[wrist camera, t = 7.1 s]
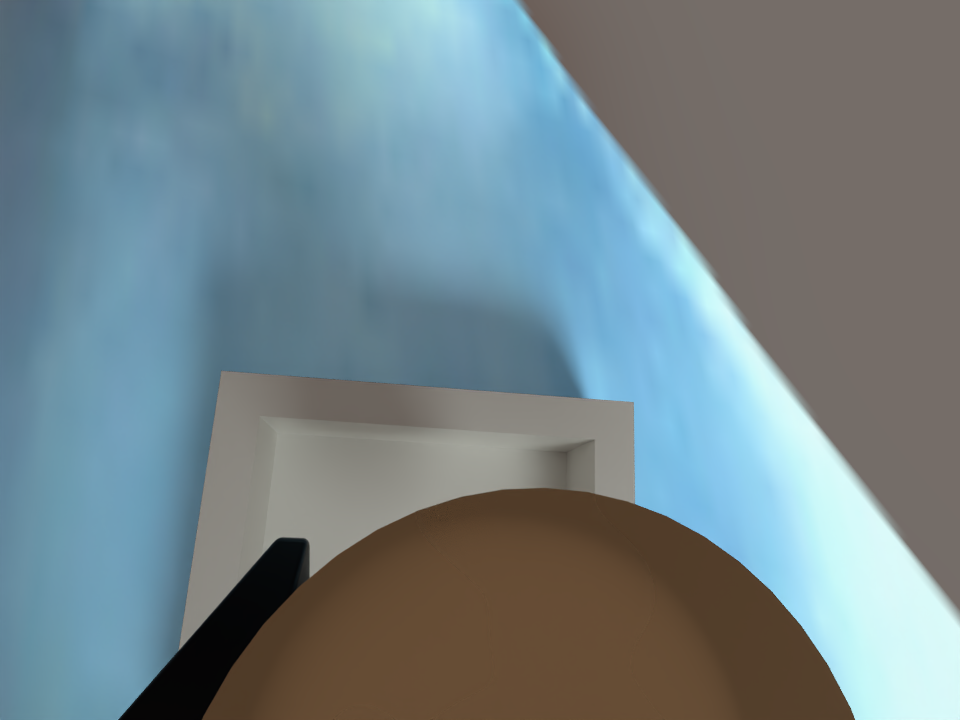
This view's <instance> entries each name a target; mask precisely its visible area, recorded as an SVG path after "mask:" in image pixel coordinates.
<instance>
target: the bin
mask: <svg viewBox="0 0 960 720" xmlns="http://www.w3.org/2000/svg"><path fill="white" fill-rule="evenodd" d="M526 488H553V489H563V490H573V491H584V492H590V493H594V494H598V495H603V496H607V497H611V498H615V499H619V500H624V501H628V502H630V503H633V504H635V473H634V402H624V401H610V400H597V399H584V398H571V397H558V396H545V395H532V394H519V393H506V392H492V391H479V390H466V389H453V388H440V387H427V386H414V385H401V384H388V383H374V382H361V381H348V380H335V379H322V378H309V377H296V376H283V375H270V374H257V373H243V372H230V371H221V377H220V384H219V390H218V397H217V403H216V410H215V416H214V423H213V429H212V436H211V442H210V449H209V455H208V462H207V468H206V475H205V481H204V488H203V494H202V501H201V507H200V514H199V520H198V527H197V533H196V540H195V547H194V553H193V560H192V566H191V573H190V579H189V586H188V592H187V599H186V605H185V612H184V618H183V625H182V631H181V638H180V644H179V650H180V649H181V647H182V646H183V645H184V644H185V643H186V642H187V641H188V639H189V638H190V637H191V636H192V635H193V634H194V633H195V631H196V630H197V629H198V628H199V627H200V626H201V625H202V623H203V622H204V621H205V620H206V619H207V618H208V617H209V615H210V614H211V613H212V612H213V611H214V610H215V609H216V607H217V606H218V605H219V604H220V603H221V602H222V601H223V599H224V598H225V597H226V596H227V595H228V594H229V593H230V591H231V590H232V589H233V588H234V587H235V586H236V584H237V583H238V582H239V581H240V580H241V579H242V578H243V576H244V575H245V574H246V573H247V572H248V571H249V570H250V568H251V567H252V566H253V565H254V564H255V563H256V562H257V560H258V559H259V558H260V557H261V556H262V555H263V554H264V552H265V551H266V550H267V549H268V548H269V547H270V546H271V544H272V543H273V542H274V541H275V540H276V539H278V538H280V537H291V538H305V539H307V540H308V541H309V544H310V577H311V576H313V575H314V574H315V573H316V572H317V571H319V570H320V569H321V568H322V567H323V566H325V565H326V564H327V563H328V562H329V561H331V560H332V559H333V558H334V557H335V556H337V555H338V554H340V553H341V552H343V551H344V550H346V549H348V548H349V547H351V546H352V545H354V544H355V543H357V542H359V541H360V540H362V539H363V538H365V537H366V536H368V535H370V534H371V533H373V532H374V531H376V530H377V529H380V528H382V527H384V526H386V525H388V524H390V523H392V522H395V521H397V520H399V519H401V518H403V517H405V516H407V515H409V514H412V513H414V512H416V511H418V510H421V509H424V508H427V507H430V506H433V505H437V504H440V503H443V502H446V501H449V500H452V499H455V498H459V497H463V496H468V495H474V494H480V493H485V492H491V491H497V490H502V489H526Z"/></svg>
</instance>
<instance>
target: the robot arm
mask: <svg viewBox="0 0 960 720" xmlns="http://www.w3.org/2000/svg"><path fill="white" fill-rule="evenodd" d="M309 578H310V544H309V541H308V540H307V539H305V538H291V537H280V538H278V539H276V540H275V541H274V542H273V543H272V544H271V546H270V547H269V548H268V549H267V550H266V551H265V552H264V554H263V555H262V556H261V557H260V558H259V559H258V560H257V562H256V563H255V564H254V565H253V566H252V567H251V568H250V570H249V571H248V572H247V573H246V574H245V575H244V576H243V578H242V579H241V580H240V581H239V582H238V583H237V584H236V586H235V587H234V588H233V589H232V590H231V591H230V593H229V594H228V595H227V596H226V597H225V598H224V599H223V601H222V602H221V603H220V604H219V605H218V606H217V607H216V609H215V610H214V611H213V612H212V613H211V614H210V615H209V617H208V618H207V619H206V620H205V621H204V622H203V623H202V625H201V626H200V627H199V628H198V629H197V630H196V631H195V633H194V634H193V635H192V636H191V637H190V638H189V639H188V641H187V642H186V643H185V644H184V645H183V646H182V647H181V649H180V650H179V651H178V652H177V653H176V654H175V655H174V657H173V658H172V659H171V660H170V661H169V662H168V663H167V665H166V666H165V667H164V668H163V669H162V670H161V671H160V673H159V674H158V675H157V676H156V677H155V678H154V679H153V681H152V682H151V683H150V684H149V685H148V686H147V687H146V689H145V690H144V691H143V692H142V693H141V694H140V695H139V697H138V698H137V699H136V700H135V701H134V702H133V703H132V705H131V706H130V707H129V708H128V709H127V710H126V711H125V713H124V714H123V715H122V716H121V717H120V718H119V719H118V720H202V719H203V716H204V714H205V713H206V711H207V709H208V708H209V706H210V704H211V702H212V701H213V699H214V697H215V695H216V694H217V692H218V690H219V688H220V687H221V685H222V683H223V682H224V680H225V678H226V676H227V675H228V673H229V671H230V669H231V668H232V666H233V665H234V663H235V662H236V661H237V659H238V658H239V657H240V655H241V654H242V653H243V651H244V650H245V649H246V647H247V646H248V645H249V643H250V642H251V641H252V639H253V638H254V637H255V635H256V634H257V633H258V631H259V630H260V628H261V627H262V626H263V624H264V623H265V622H266V621H267V620H268V619H269V618H270V617H271V616H272V615H273V614H274V613H275V612H276V611H277V610H278V608H279V607H280V606H281V605H282V604H283V603H284V602H285V601H286V600H287V599H288V598H289V597H290V596H291V595H292V594H293V593H294V592H295V590H296V589H297V588H298V587H299V586H301V585H302V584H303V583H304V582H305V581H307V580H308V579H309Z"/></svg>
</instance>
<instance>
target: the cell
mask: <svg viewBox="0 0 960 720" xmlns="http://www.w3.org/2000/svg"><path fill="white" fill-rule="evenodd" d="M202 720H855V718H854V716H853V713H852V711H851V708H850V706H849V704H848V702H847V700H846V698H845V697H844V695H843V693H842V691H841V689H840V687H839V685H838V683H837V681H836V680H835V678H834V676H833V674H832V672H831V670H830V668H829V666H828V665H827V663H826V662H825V660H824V659H823V657H822V656H821V654H820V653H819V651H818V650H817V648H816V647H815V645H814V644H813V642H812V641H811V639H810V638H809V637H808V635H807V634H806V632H805V631H804V629H803V628H802V626H801V625H800V624H799V623H798V621H797V620H796V619H795V618H794V617H793V616H792V615H791V613H790V612H789V611H788V610H787V609H786V608H785V606H784V605H783V604H782V603H781V602H780V601H779V599H778V598H777V597H776V596H775V595H774V594H773V592H772V591H771V590H770V589H768V588H767V587H766V586H765V585H764V584H763V583H762V582H761V581H760V580H759V579H758V578H756V577H755V576H754V575H753V574H752V573H751V572H750V571H749V570H748V569H747V568H746V567H744V566H743V565H742V564H741V563H740V562H739V561H738V560H736V559H735V558H733V557H732V556H731V555H729V554H728V553H726V552H725V551H724V550H722V549H721V548H719V547H718V546H717V545H715V544H714V543H712V542H711V541H710V540H708V539H707V538H705V537H704V536H702V535H700V534H698V533H697V532H695V531H693V530H691V529H689V528H687V527H685V526H684V525H682V524H680V523H678V522H676V521H674V520H672V519H671V518H669V517H667V516H664V515H662V514H659V513H657V512H654V511H651V510H649V509H646V508H643V507H641V506H638V505H636V504H633V503H630V502H628V501H624V500H619V499H615V498H611V497H607V496H603V495H598V494H594V493H590V492H584V491H573V490H563V489H553V488H526V489H502V490H497V491H491V492H485V493H480V494H474V495H468V496H463V497H459V498H455V499H452V500H449V501H446V502H443V503H440V504H437V505H433V506H430V507H427V508H424V509H421V510H418V511H416V512H414V513H412V514H409V515H407V516H405V517H403V518H401V519H399V520H397V521H395V522H392V523H390V524H388V525H386V526H384V527H382V528H380V529H377V530H376V531H374V532H373V533H371V534H370V535H368V536H366V537H365V538H363V539H362V540H360V541H359V542H357V543H355V544H354V545H352V546H351V547H349V548H348V549H346V550H344V551H343V552H341V553H340V554H338V555H337V556H335V557H334V558H333V559H332V560H331V561H329V562H328V563H327V564H326V565H325V566H323V567H322V568H321V569H320V570H319V571H317V572H316V573H315V574H314V575H313V576H311V577H310V578H309V579H308V580H307V581H305V582H304V583H303V584H302V585H301V586H299V587H298V588H297V589H296V590H295V592H294V593H293V594H292V595H291V596H290V597H289V598H288V599H287V600H286V601H285V602H284V603H283V604H282V605H281V606H280V607H279V608H278V610H277V611H276V612H275V613H274V614H273V615H272V616H271V617H270V618H269V619H268V620H267V621H266V622H265V623H264V624H263V626H262V627H261V628H260V630H259V631H258V633H257V634H256V635H255V637H254V638H253V639H252V641H251V642H250V643H249V645H248V646H247V647H246V649H245V650H244V651H243V653H242V654H241V655H240V657H239V658H238V659H237V661H236V662H235V663H234V665H233V666H232V668H231V669H230V671H229V673H228V675H227V676H226V678H225V680H224V682H223V683H222V685H221V687H220V688H219V690H218V692H217V694H216V695H215V697H214V699H213V701H212V702H211V704H210V706H209V708H208V709H207V711H206V713H205V714H204V716H203V719H202Z"/></svg>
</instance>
